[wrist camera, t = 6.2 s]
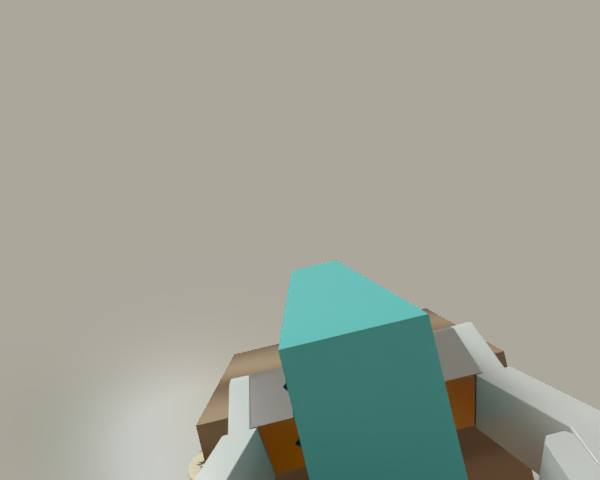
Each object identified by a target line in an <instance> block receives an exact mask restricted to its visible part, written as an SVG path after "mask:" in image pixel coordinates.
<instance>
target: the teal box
mask: <svg viewBox="0 0 600 480" xmlns="http://www.w3.org/2000/svg"><path fill="white" fill-rule="evenodd" d="M278 352H279V356H280V360H281V364H282V368H283V372H284V376H285V381H286V385H287V389H288V393H289V397H290V401H291V406H292V410H293V414H294V418H295V422H296V426H297V430H298V435H299V439H300V443H301V447H302V451H303V455H304V459H305V464H306V468H307V472H308V476H309V480H468V478H467V473H466V469H465V465H464V461H463V457H462V452H461V448H460V444H459V440H458V436H457V431H456V427H455V423H454V419H453V415H452V410H451V406H450V402H449V398H448V394H447V389H446V385H445V381H444V377H443V373H442V368H441V364H440V360H439V356H438V352H437V347H436V343H435V339H434V335H433V331H432V326H431V322H430V318H429V314H428V313H426V312H425V311H423V310H421V309H419V308H418V307H416V306H414V305H412V304H411V303H409V302H407V301H406V300H404V299H402V298H400V297H399V296H397V295H395V294H394V293H392V292H390V291H388V290H387V289H385V288H383V287H382V286H380V285H378V284H376V283H375V282H373V281H371V280H369V279H368V278H366V277H364V276H363V275H361V274H359V273H358V272H356V271H354V270H352V269H351V268H349V267H347V266H346V265H344V264H342V263H340V262H339V261H337V260H335V261H331V262H327V263H323V264H318V265H314V266H310V267H306V268H301V269H297V270H294V271H292V272H291V278H290V283H289V290H288V295H287V302H286V307H285V313H284V319H283V325H282V330H281V337H280V343H279V348H278Z"/></svg>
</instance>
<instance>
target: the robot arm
mask: <svg viewBox="0 0 600 480" xmlns="http://www.w3.org/2000/svg"><path fill="white" fill-rule="evenodd" d="M433 335H434V339H435V343H436V347H437V352H438V356H439V360H440V364H441V368H442V373H443V377H444V381H445V385H446V389H447V394H448V398H449V402H450V406H451V410H452V415H453V419H454V423H455V427H456V430H457V429H462V428H467V427H472V426H476V428H477V429H479V430H480V431H481V432H483V433H484V434H485V435H487V436H488V437H489V438H491V439H492V440H493V441H495V442H496V443H497V444H499V445H500V446H501V447H502V448H504V449H505V450H506V451H508V452H509V453H510V454H512V455H513V456H514V457H516V458H517V459H518V460H520V461H521V462H522V463H524V464H525V465H526V466H528V467H529V468H530V469H532V470H533V471H534V472H536V473H537V474H538V475H539V480H600V411H599V410H597V409H595V408H593V407H591V406H589V405H587V404H585V403H583V402H581V401H579V400H577V399H575V398H573V397H571V396H569V395H567V394H565V393H563V392H561V391H559V390H557V389H555V388H553V387H551V386H549V385H547V384H545V383H543V382H541V381H539V380H537V379H535V378H533V377H531V376H529V375H527V374H524V373H522V372H521V371H518V370H517V369H515V368H513V367H506V368H504V366H503V365H502V363H501V362H500V361H499V359H498V358H497V356H496V355H495V354H494V352H493V351H492V349H491V348H490V347H489V345H488V344H487V343H486V341H485V340H484V338H483V337H482V336H481V334H480V333H479V332H478V330H477V329H476V327H475V326H474V324H472V323H471V322H467V323H463V324H459V325H455V326H451V327H447V328H443V329H439V330H435V331H433ZM303 466H306V464H305V459H304V455H303V451H302V447H301V443H300V439H299V435H298V430H297V426H296V422H295V418H294V414H293V410H292V406H291V401H290V397H289V393H288V389H287V385H286V381H285V376H284V372H283V368H278V369H273V370H269V371H264V372H259V373H255V374H250V375H247V376H243V377H238V378H233V379H231V381H230V384H229V416H228V435H224V436H222V437H221V439H220V440H219V442H218V443H217V445H216V447H215V448H214V450H213V451H212V453H211V454H210V456H209V457H208V459H207V460H206V462H205V464H204V465H203V467H202V468H201V470H200V471H199V473H198V474H197V476H196V478H195V479H194V480H275V477H276V475H275V474H277V473H281V472H285V471H288V470H292V469H296V468H299V467H303Z"/></svg>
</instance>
